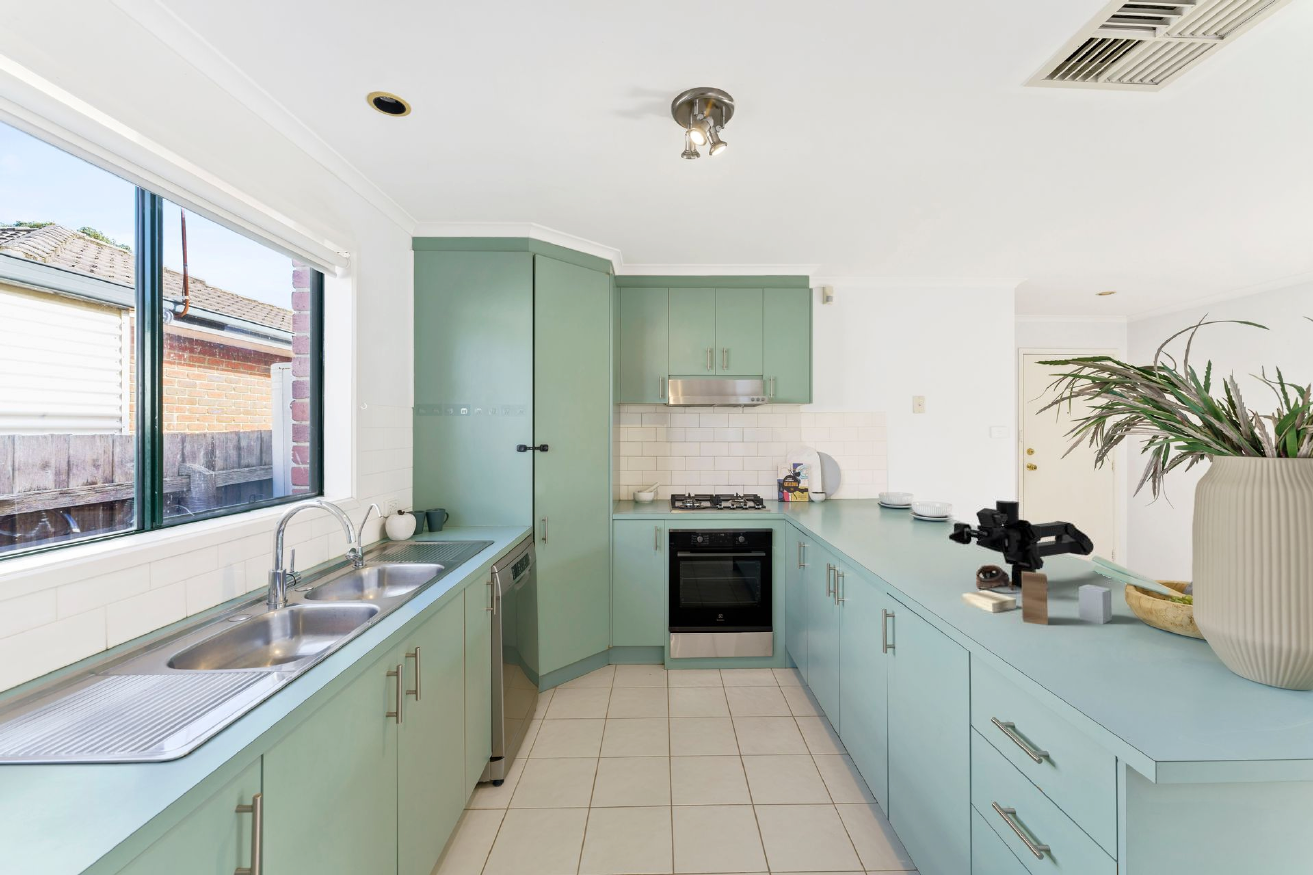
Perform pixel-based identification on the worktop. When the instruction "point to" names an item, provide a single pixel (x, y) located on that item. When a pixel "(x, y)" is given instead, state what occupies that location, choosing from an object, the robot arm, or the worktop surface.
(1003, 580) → the pottery mug
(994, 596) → the birch block
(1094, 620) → the grey block
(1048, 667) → the worktop surface
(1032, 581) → the walnut block
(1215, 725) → the worktop surface
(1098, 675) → the worktop surface
